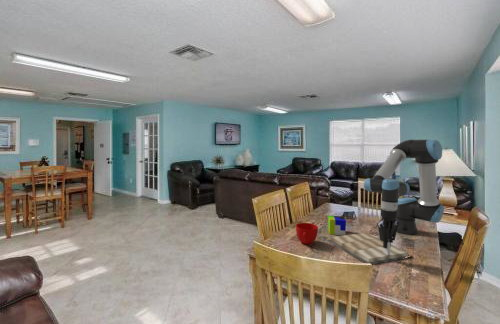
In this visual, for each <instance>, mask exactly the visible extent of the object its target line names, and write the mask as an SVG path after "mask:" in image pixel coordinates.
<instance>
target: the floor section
mask: <svg viewBox="0 0 500 324" xmlns="http://www.w3.org/2000/svg"><path fill="white" fill-rule="evenodd" d="M327 242H329V244H332V245H333V246H335V247H337V248H338V249H340V250H342V251H343V252H345V253H346V254H348V255H350V256H352V257H353V258H355V259H356V260H357V261H359V262H361V263H363V264H364V263H368V262H367V261H365V260H363V259H362V258H360V257H358V256H357V255H355V251H356V250H363V249H369V248H376V247H383V241H381V240H380V238H377V237H375V236H373V235H371V234H368V233H367V232H361V233H354V234H353V233H352V234H345V235H344V236H343V235H335V236H331V237H330V239H327ZM409 255H410V254H408V256H409ZM405 257H406V256H405ZM405 257H399V258H393V259H387V260H381V261H375V262H369V263H371V264H373V265H378V264H377V263H379V264H383V263H382V262H384V263H389V262H388V261H390V262H394V261H393V260H396V261H399V260H398V259H402V260H404V259H403V258H405ZM410 257H413V256H412V255H410ZM413 258H414V257H413Z"/></svg>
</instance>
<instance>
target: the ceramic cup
mask: <svg viewBox="0 0 500 324" xmlns="http://www.w3.org/2000/svg"><path fill="white" fill-rule="evenodd" d="M318 230H319V226H318V225H316V224H314V223H310V222H299V223H297V224H295V231H296V232H295V233H296V236H297V238H298V240H299V241H300V243H301V244H304V245H312V244H313V243H314V242H315V240H316V239H317V237H318V233H319V231H318Z"/></svg>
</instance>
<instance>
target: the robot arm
mask: <svg viewBox="0 0 500 324" xmlns="http://www.w3.org/2000/svg"><path fill="white" fill-rule="evenodd" d="M442 157H443V148H442V144H441V143H440V141H439V140H437V139H407V140H404V141H402V142H400V143H397V144H396V145H395V146H394V147H393V148H392V149H391V150H390V152H389V155H388V157H387V158H386V160H385V161H384V162H383V163H382V165H380V167H379V169H378V170H377V172H376V173H375V174H374V175H373V177H372V178H371V177H370V178H369V177H368V178H366V179H365V180H364V181H363V182H364V183H363V188H364V190H365V191H367V192H370V193H378V194H381V201H380V202H381V203H380V208H381V209H380V217H381V219H380V222H377V223H376V226H377V228H378V233H379V239H380V240H381V241H383V248H384V250H383V253H384V254H386V255H390V248H391V245H392V243H394V241H395V240H396V237H397V233H399V234H403V235H411V236H412V234H414V235H417V234H419V233H418V231H419V230H418V227H417V223H416V219H417V220H421V221H424V222H425V221H426V222H429V223H434V224H437V223H440V222H441V220H442V218H443V216H444V212H445V207H444V205H442V204H441V202H440V200H439V199H438V198H437V197H438V196H437V171H436V170H437V167H436V165H437V164H438V162H439V160H441V158H442ZM406 159H414V160H415V163H416V164H417V166H418V178H419V179H418V180H419V194H420V195H419V196H420V197H419V199H417V198H416V197H404V196H406V195H408V194H409V192H410V191H411V189H410V185H409V184H408V183H407V182H405V181H400V180H397V179H393V178H392V179H390V178H391V177H392V176H393V174H394V173H395V171H396V170H397V169H398V167H399V166H400V164H401V163H402V162H404V161H405V160H406Z"/></svg>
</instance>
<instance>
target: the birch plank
mask: <svg viewBox="0 0 500 324" xmlns="http://www.w3.org/2000/svg"><path fill="white" fill-rule="evenodd" d="M383 250H384V248H383V247H376V248H369V249H363V250H356V251H355V255H357V256H358V257H360V258H362V259H363V260H365V261H367V262H368V263H369V262H375V261H381V260H387V259H393V258H399V257H405V256H408V255H409V253H408V251H406V250H403V249H402V248H399V247H397V246H394V245H393V244H391V248H390V255H386V254H384V253H383Z"/></svg>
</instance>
